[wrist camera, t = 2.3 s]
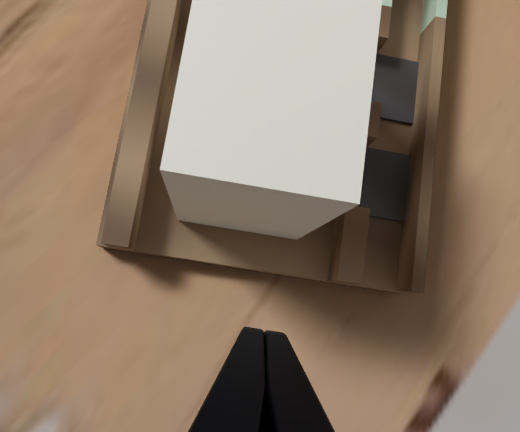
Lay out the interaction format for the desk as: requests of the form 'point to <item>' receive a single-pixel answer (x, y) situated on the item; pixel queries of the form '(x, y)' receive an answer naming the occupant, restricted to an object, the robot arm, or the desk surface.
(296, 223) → the block
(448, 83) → the desk surface
